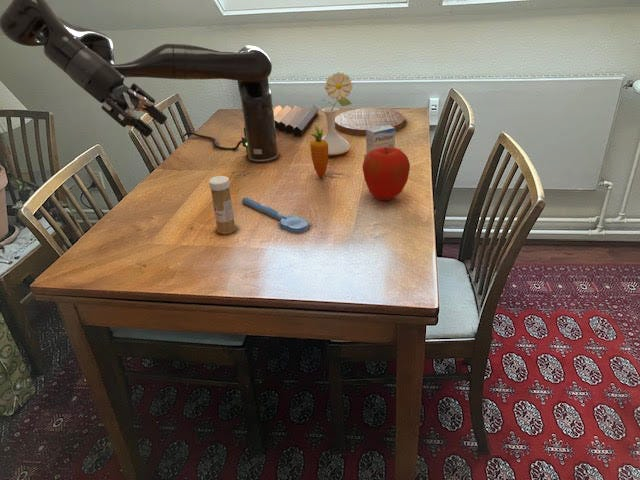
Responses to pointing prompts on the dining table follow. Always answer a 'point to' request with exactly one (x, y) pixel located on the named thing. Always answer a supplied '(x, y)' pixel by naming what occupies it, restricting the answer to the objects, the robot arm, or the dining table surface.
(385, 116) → the trivet
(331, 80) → the flower in vase
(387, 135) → the medicine box
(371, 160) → the apple
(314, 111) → the pan flute
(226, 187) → the sprinkles bottle
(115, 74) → the robot arm
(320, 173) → the carrot
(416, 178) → the dining table surface
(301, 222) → the spoon
